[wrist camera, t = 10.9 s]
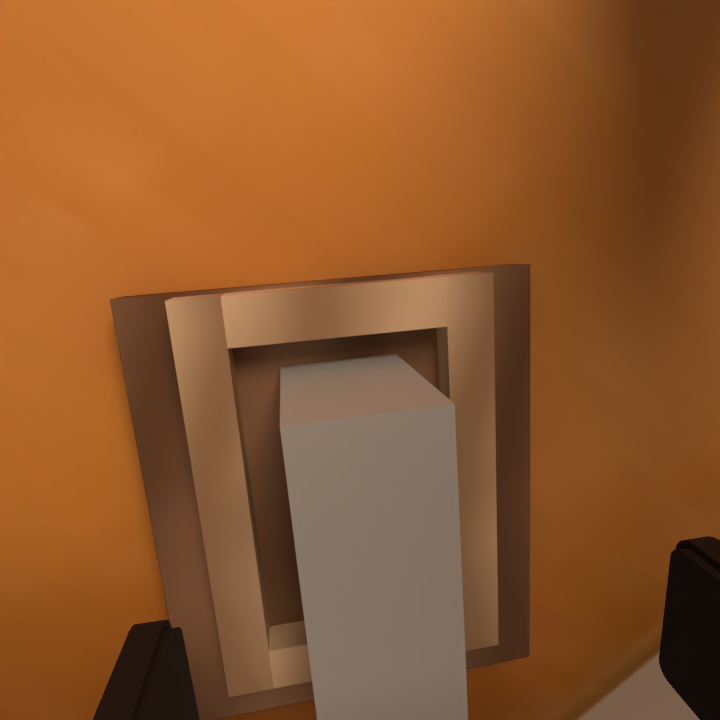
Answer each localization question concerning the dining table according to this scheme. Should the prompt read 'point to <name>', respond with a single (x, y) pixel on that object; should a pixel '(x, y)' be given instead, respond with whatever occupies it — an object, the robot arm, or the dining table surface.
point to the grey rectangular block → (376, 538)
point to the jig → (266, 462)
